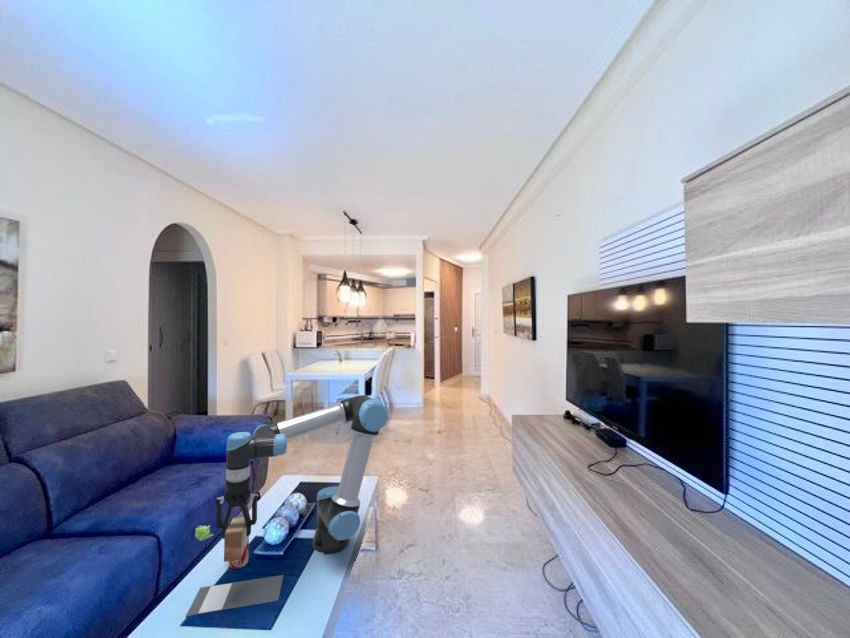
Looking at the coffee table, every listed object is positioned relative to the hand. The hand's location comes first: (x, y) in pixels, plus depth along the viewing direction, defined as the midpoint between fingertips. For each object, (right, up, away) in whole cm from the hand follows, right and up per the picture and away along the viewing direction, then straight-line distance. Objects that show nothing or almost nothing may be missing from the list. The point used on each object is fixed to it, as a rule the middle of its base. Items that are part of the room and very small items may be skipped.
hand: (236, 545), depth 128 cm
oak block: (0, -2, 0) cm, 2 cm away
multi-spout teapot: (-32, -18, +34) cm, 50 cm away
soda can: (-7, -18, +16) cm, 25 cm away
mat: (0, -17, 0) cm, 17 cm away
